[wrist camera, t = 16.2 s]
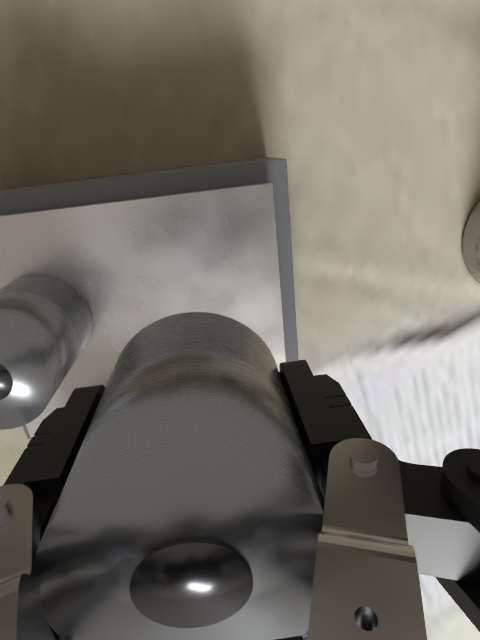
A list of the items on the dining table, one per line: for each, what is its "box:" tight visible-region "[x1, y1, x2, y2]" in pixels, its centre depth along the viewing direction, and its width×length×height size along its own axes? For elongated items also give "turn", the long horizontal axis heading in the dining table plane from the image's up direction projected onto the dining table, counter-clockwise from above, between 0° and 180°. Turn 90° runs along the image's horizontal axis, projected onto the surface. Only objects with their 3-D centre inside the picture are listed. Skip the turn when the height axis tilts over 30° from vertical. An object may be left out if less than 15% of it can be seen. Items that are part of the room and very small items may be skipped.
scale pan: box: [0, 182, 286, 437], centre depth 23 cm, size 16×13×1 cm
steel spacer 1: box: [0, 275, 92, 429], centre depth 19 cm, size 5×5×6 cm
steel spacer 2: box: [34, 312, 325, 640], centre depth 9 cm, size 5×5×6 cm
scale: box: [0, 157, 298, 439], centre depth 23 cm, size 18×18×16 cm
